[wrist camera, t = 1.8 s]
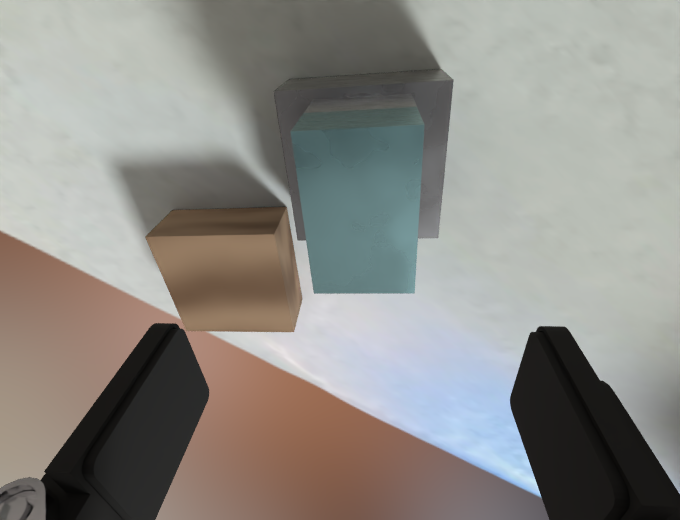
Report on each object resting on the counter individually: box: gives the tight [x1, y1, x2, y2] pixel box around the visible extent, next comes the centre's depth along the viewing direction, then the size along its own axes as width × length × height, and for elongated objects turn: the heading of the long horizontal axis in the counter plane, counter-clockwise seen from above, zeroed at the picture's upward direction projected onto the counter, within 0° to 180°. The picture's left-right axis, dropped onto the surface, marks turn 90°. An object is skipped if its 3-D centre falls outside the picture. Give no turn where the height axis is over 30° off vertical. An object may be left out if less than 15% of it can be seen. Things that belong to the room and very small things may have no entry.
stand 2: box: [274, 69, 453, 240], centre depth 22 cm, size 9×9×4 cm
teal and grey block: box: [291, 94, 424, 293], centre depth 18 cm, size 8×5×6 cm, turn 4°
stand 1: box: [146, 207, 302, 332], centre depth 28 cm, size 9×9×4 cm
